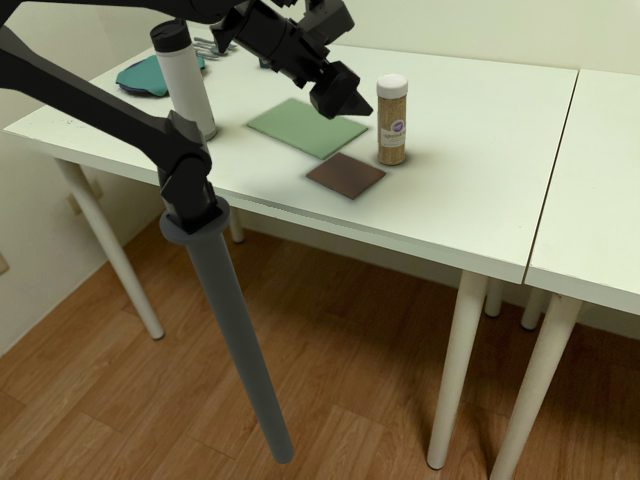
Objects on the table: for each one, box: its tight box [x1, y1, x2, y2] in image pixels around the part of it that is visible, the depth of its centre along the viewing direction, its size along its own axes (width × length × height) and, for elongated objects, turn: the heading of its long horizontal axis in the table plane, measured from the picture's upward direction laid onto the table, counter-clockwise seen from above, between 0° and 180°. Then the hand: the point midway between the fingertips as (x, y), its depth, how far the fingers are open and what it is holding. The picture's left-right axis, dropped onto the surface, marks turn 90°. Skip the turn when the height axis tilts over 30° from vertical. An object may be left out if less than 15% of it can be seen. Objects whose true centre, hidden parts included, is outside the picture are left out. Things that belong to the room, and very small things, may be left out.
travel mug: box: [149, 17, 218, 142], centre depth 82 cm, size 6×7×20 cm
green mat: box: [246, 98, 369, 161], centre depth 86 cm, size 12×20×1 cm, turn 46°
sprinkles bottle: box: [375, 73, 409, 166], centre depth 72 cm, size 5×5×13 cm
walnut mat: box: [305, 151, 387, 200], centre depth 74 cm, size 8×10×1 cm
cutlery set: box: [115, 36, 239, 97], centre depth 111 cm, size 20×30×2 cm, turn 147°
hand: (358, 99), depth 68 cm, fingers open, 9 cm apart
